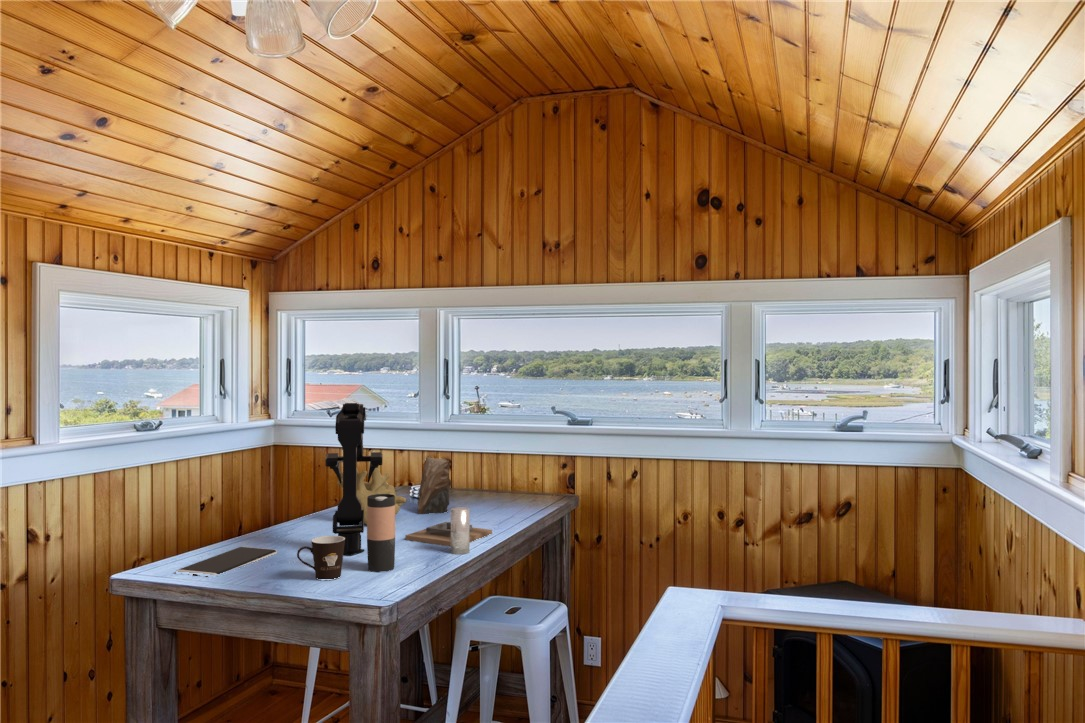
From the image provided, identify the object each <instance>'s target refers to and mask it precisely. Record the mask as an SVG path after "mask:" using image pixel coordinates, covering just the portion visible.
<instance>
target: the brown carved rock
mask: <svg viewBox="0 0 1085 723" xmlns="http://www.w3.org/2000/svg"><path fill="white" fill-rule="evenodd" d="M450 463H451V462H450V460H448V459H446V458H434V457H432V456H431V457H429V456H426V457H425V462H424V465H423V469H422V476H421V481H420V484H419V485H420V486H419V491H418V499H417V500H418V501H417V515H429V513H435V514H445V513H444V512H447V511H448V512H449V510H448V507H449V505H450V488H451V486H452V480H451V479H450ZM448 512H447V513H448Z"/></svg>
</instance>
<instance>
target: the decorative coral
mask: <svg viewBox="0 0 1085 723" xmlns="http://www.w3.org/2000/svg"><path fill="white" fill-rule="evenodd" d="M367 476H368V471H367V470H363V471H362V472H361V473H360V470H359V469H358V468H357V497H358V498H359V500H360V501H361V503H362V510H364V525H366V526H367V497H368V496H370V495H375V494H392V495H394V496H395V516H396V515H397V514H398V513H399V512H400V509H401V508H400V507H402V506H403V505H404V504H405V503H406V502H407V498H406V497H404V496H401V495H397V493H396V489H395V487H394V485H392V484H389V483H388V481H387V480H388V479H391V473H389V472H388V473H386V474H383V475H382V473H381V470H380V468H379V467H378V468H375V470H374V471H373V473H372V476H371V479H372V480H371V481H369V483H368V481H365V478H366V477H367ZM341 479H342V482H341V484H340V482H339V480H338V481H337V483H336V484H337V485H338V486H340V487H341V488H342V489H343V472H341Z"/></svg>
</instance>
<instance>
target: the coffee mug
mask: <svg viewBox="0 0 1085 723" xmlns="http://www.w3.org/2000/svg"><path fill="white" fill-rule="evenodd" d="M344 544H345V538H344V537H341V536H338V535H325V536H319V537H318V536H317V537H314V538H312V539H311V546H310V547H309V546H307V545H306V546H302V547H299V549H298V550H297V552H296V557H297V559H298V561H299V562H301V563H302V564H303V565H306V566H308V567H309V568H311V569H313V570H314V573H315V579H316V578H318V579H334V578H338V577H340V576H341V577H342V571H343V570H342V569H343V560H344V555H343V553H344ZM303 550H309V551H310V553H311V554H312V557H313V558H312V559H313V565H312V564H310V563H308V562H306V561H304V560H303V559H302V558H301V557H300V552H301V551H303ZM341 577H340V578H341ZM338 579H339V578H338Z"/></svg>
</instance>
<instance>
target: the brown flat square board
mask: <svg viewBox="0 0 1085 723" xmlns="http://www.w3.org/2000/svg"><path fill="white" fill-rule="evenodd" d="M489 534H492V535H493V530H492V529H489V528H481V527H473V524H469V544H470V543H473V542H475V541H474V540H476V539H478V540H480V539H479V538H481V539H483V538H482V537H484V536H486V537H488V536H487V535H489ZM489 536H490V535H489ZM484 538H485V537H484ZM404 539H405V541H409V542H410V541H411V542H417V543H422V544H423V543H425V544H432V545H437V546H445V547H451V521H443V522H439V523H437V524H434V525H430V526H428V527H426V528H424V529H422V530H418V531H415V532H412V533H409V534H405V538H404ZM472 541H473V542H472ZM476 541H477V540H476Z"/></svg>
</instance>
